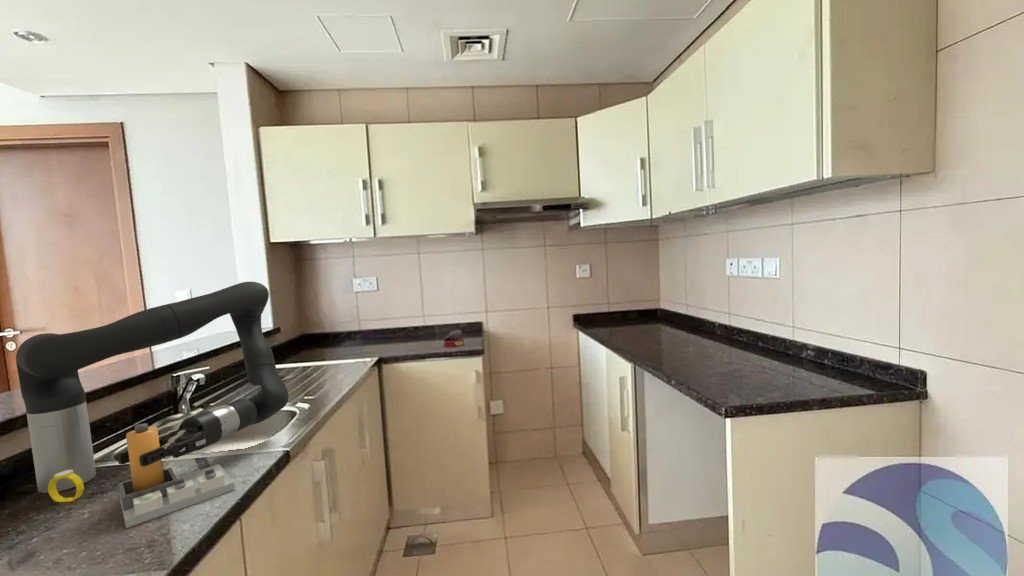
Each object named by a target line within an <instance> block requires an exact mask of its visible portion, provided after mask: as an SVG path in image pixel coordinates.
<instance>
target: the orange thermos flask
mask: <svg viewBox="0 0 1024 576" xmlns="http://www.w3.org/2000/svg"><path fill="white" fill-rule="evenodd" d="M158 432H159V429H158V427H157V426H154V425H153V426H149V424H148V423H145V422H144V423H141V424H140V423H139V424H136V425H135V426H134V430H131V431H129V432H127V433H126V434H125V437H126V445H127V450H128V454H129V462H128V463H129V469H130V476H131V479H132V484H133V492H134V493H135V492H138V491H142V490H145V489H148V488H151V487H154V486H157V485H160V484H164V475H163V470H164V469H163V461H162V460H163V459H161V460H159V461H156V462H154V463H152V464H150V465H147V466H145V467H144V466H140V460H139V457H140V456H141V455H142V454H145V453H147V452H150V451H152V450H154V449H157V448H161V447H160V444H159V436H158Z"/></svg>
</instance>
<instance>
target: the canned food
mask: <svg viewBox="0 0 1024 576" xmlns="http://www.w3.org/2000/svg"><path fill="white" fill-rule="evenodd" d="M462 333H463V331H462V330H460V329H455V330H452V331H450V332H449V333H448V334H447V335H446V336H445V337H444V338H443V343H444V344H443V346H444V347H445V348H458V347H462V346H464V345H465V342H464V341H465V339H464V338H463V337H459V336H460V335H461V334H462Z"/></svg>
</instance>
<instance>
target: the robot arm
mask: <svg viewBox="0 0 1024 576" xmlns="http://www.w3.org/2000/svg"><path fill="white" fill-rule="evenodd" d="M269 294H270V293H269V289H268V288H267V287H266V286H265V285H264V284H262V283H261V282H256V281H243V282H242V281H241V282H238V283H235V284H233V285H231V286H227V287H225V288H221V289H220V290H217V291H213V292H211V293H208V294H207V293H206V294H203V295H200V296H195V297H192V298H191V297H190V298H188V299H183V300H180V301H177V302H176V301H175V302H170V303H166V304H163V305H158V306H155V307H154V306H153V307H150V308H147V309H144V310H141V311H138V312H135V313H132V314H130V315H127V316H125V317H122V318H120V319H118V320H116V321H114V322H111V323H108V324H105V325H102V326H98V327H93V328H88V329H84V330H78V331H72V332H65V333H51V332H48V333H47V332H46V333H39V334H35V335H33V336H31V337H28V338H26V340H24V341H23V342H22V343H21V344H20V345H19V347H18V348H17V350H16V353H15V354H16V355H15V362H16V370H17V377H18V380H19V388H20V392H21V397H22V400H23V403H24V406H25V410H26V411H25V412H26V418H27V425H28V426H27V427H28V430H29V437H30V438H29V439H30V445H31V446H30V447H31V452H32V460H33V465H34V471H35V480H36V487H37V492H38V491H39V492H42V493H41V494H49V492H48V485H49V483H50V481H51V480H52V479H53V478H54V475H55V474H57V473H60V472H63V471H66V470H73V473H74V474H76V475H78V476H79V477H80V478H81V479H82V481H83V484H86V483H87V482H89V481H91V480H92V479H94V478H95V477H96V476H97V472H96V471H97V470H96V465H95V456H94V455H95V454H94V449H93V448H94V447H93V442H92V434H91V426H90V421H89V419H90V418H89V413H88V405H87V399H86V391H85V389H84V387H83V385H82V382H81V379H80V374H79V370H81V369H82V370H83V369H84V368H86V367H89V366H92V365H93V364H96V363H99V362H102V361H104V360H107V359H110V358H113V357H117V356H120V355H123V354H128V353H132V352H136V351H140V350H143V349H144V350H145V349H148V348H152V347H156V346H160V345H163V344H167V343H169V342H172V341H175V340H176V341H177V340H179V339H182V338H184V337H187V336H189V335H191V334H193V333H195V332H196V331H198V330H200V329H202V328H203V327H205V326H206V325H208V324H210V323H211V322H213V321H215V320H217V319H219V318H221V317H223V316H226V315H229V316H230V318H231V321H232V323H233V325H234V328H235V330H236V333H237V335H238V338H239V339H238V340H239V342H240V347H241V350H242V355H243V360H244V361H243V362H244V367H245V373H246V377H247V381H248V383H249V384H250V385H252V386H257V387H258V386H260V389H261V390H260V391H258V392H257V393H256V394H254V395H253V396H251V397H250V398H239V399H237V400H236V399H235V400H232V401H231V402H227V403H224V404H223V405H218V406H215V407H212V408H209V409H206V410H204V411H201V412H198V413H195V414H193V415H191V416H188V417H185V418H184V419H183V420H182V422H181V423H180V425H179V427H178V429H176V428H175V429H173V430H171V429H170V430H169V431H166V433H162V434H161V431H158V436H159V444H160V448H157V449H154V450H152V451H150V452H147V453H145V454H142V455H141V456H140V457H139V460H140V466H144V467H145V466H147V465H150V464H152V463H154V462H156V461H159V460H163V459H164V460H168V459H170V458H171V457H172V458H173V459H177V458H180V457H183V456H185V455H187V454H190V453H194V452H195V451H197V452H198V451H202V450H203V449H204V448H207V447H210V446H212V445H213V444H215V443H218V442H220V441H221V440H222V441H223V440H224V439H226V438H228V437H229V436H232V434H234V433H236V432H239V431H241V430H244V429H245V428H247V427H250V426H253V425H257V424H260V423H261V422H264V421H266V420H268V419H270V418H271V417H272V416H274V415H275V414H277V413H278V412H279V411H281V410H282V409H284V408H285V407H286V405H287V404H288V402H289V391H288V388H287V386H286V385H285V383H284V381H283V379H282V378H281V376H280V375H279V372H277V365H276V363H275V362H276V361H275V358H274V357H275V356H274V354H273V350H272V347H271V346H270V344H269V342H268V341H267V340H266V337H265V336H264V334H263V328H262V314H263V312H264V311H265V309H266V306H267V304H268V301H269V299H270V298H269V297H270V295H269ZM117 463H118V465H125V464H128V463H130V462H129V454H128V449H127V450H123V451H121V452H118V454H117ZM72 488H76V485H75V484H74V482H73V481H72V480H71V479H69V478H67V477H66V478H62V479H58V480H57V482H56V490H57V491H58V492H62V491H66V490H70V489H72ZM39 492H38V493H39Z"/></svg>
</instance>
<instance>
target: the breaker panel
mask: <svg viewBox="0 0 1024 576" xmlns="http://www.w3.org/2000/svg"><path fill="white" fill-rule="evenodd" d="M163 475H164V484H160V485H157V486H154V487H151V488H148V489H145V490H142V491H138V492H135V493H134V492H133V484H132V478H131V479H128V480H125V481H122V482H119V483H118V489H119V490H118V491H119V495H118V496H119V501H120V502H119V503H120V506H121V511H122V516H123V520H124V521H123V522H124V525H125V528H126V529H128V528H131V527H134V526H137V525H139V524H141V523H145V522H147V521H151V520H154V519H156V518H159V517H162V516H164V515H167V514H170V513H174V512H177V511H178V510H182V509H184V508H187V507H190V506H193V505H196V504H198V503H200V502H201V503H202V502H204V501H207V500H210V499H212V498H216V497H218V496H220V495H223V494H227V493H229V492H231V490H232V491H234V490H233V489H235V490H236V487H235V481H234V480H233V478H231V477H230V476H229V474H228V473H227V472H226V470H225V469H224V468H223V467H222V466H221V465H220V463H217V464H214V465H211V466H209V467H205V468H201V469H198V470H196V471H193V472H190V473H187V474H186V473H185V474H182V475H179V476H176V474H175V472H174V471H173V468H172V467H168V468H165V469H163Z"/></svg>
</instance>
